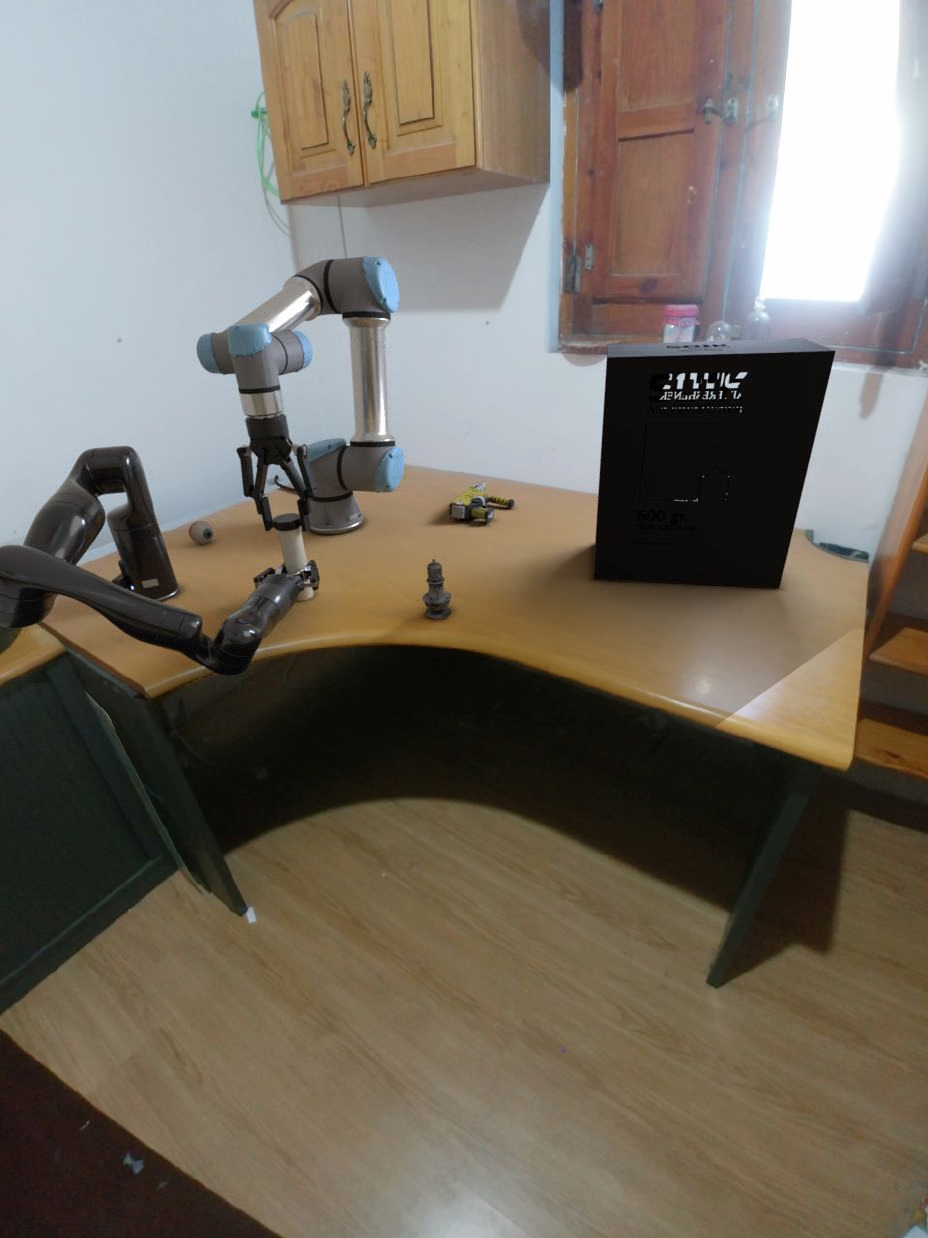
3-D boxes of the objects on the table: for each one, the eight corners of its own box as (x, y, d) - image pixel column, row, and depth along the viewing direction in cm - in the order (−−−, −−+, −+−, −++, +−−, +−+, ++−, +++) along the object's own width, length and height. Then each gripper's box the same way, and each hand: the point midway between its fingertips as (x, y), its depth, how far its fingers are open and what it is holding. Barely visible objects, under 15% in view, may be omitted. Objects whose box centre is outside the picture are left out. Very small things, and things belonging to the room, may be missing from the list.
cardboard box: (759, 548, 141) (803, 338, 119) (779, 587, 124) (835, 350, 102) (595, 543, 149) (607, 344, 126) (593, 579, 132) (607, 357, 109)
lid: (282, 520, 128) (281, 512, 127) (306, 521, 126) (305, 513, 125) (269, 530, 123) (267, 522, 122) (294, 531, 122) (292, 523, 121)
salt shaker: (449, 620, 120) (445, 565, 114) (420, 618, 121) (415, 564, 115) (455, 606, 125) (451, 552, 119) (427, 604, 126) (422, 551, 120)
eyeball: (202, 548, 159) (196, 527, 156) (187, 544, 162) (181, 523, 159) (221, 540, 163) (215, 519, 160) (206, 537, 166) (200, 516, 163)
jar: (298, 590, 135) (282, 515, 126) (317, 591, 134) (302, 516, 125) (288, 600, 131) (271, 523, 122) (307, 601, 130) (291, 524, 121)
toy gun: (522, 487, 180) (475, 480, 184) (500, 511, 160) (447, 502, 164) (521, 502, 182) (474, 495, 186) (499, 527, 162) (447, 519, 166)
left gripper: (241, 617, 120) (274, 578, 135) (310, 617, 118) (336, 579, 133) (232, 583, 116) (267, 547, 131) (303, 583, 114) (330, 547, 129)
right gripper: (323, 409, 115) (341, 523, 126) (224, 411, 118) (250, 522, 129) (308, 417, 109) (328, 536, 120) (204, 419, 112) (234, 535, 123)
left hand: (301, 563), depth 132 cm, fingers closed on jar, 4 cm apart
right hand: (288, 529), depth 125 cm, fingers open, 7 cm apart
